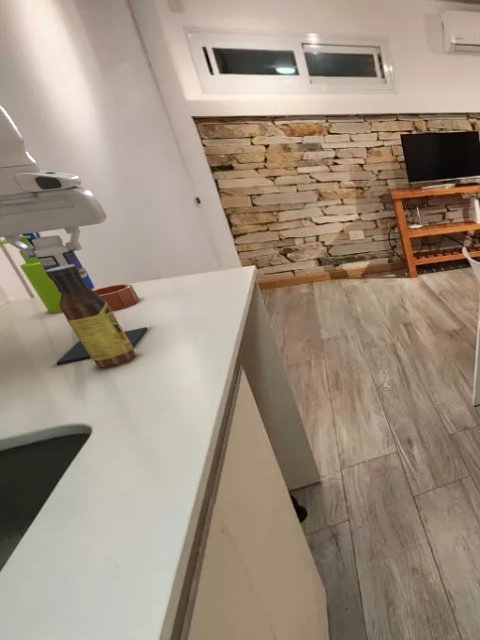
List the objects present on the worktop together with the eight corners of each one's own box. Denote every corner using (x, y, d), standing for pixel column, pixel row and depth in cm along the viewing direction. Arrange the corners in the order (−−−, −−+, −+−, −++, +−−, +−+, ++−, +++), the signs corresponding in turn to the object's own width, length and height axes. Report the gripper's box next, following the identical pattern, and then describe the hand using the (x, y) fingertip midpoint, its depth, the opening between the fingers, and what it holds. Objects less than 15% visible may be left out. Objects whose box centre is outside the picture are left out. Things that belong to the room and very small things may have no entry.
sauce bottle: (142, 357, 97) (89, 264, 88) (103, 371, 92) (43, 274, 83) (130, 351, 100) (78, 260, 91) (91, 365, 95) (32, 270, 86)
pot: (85, 316, 122) (75, 300, 120) (99, 304, 130) (90, 289, 128) (132, 307, 126) (124, 291, 124) (143, 296, 134) (135, 281, 132)
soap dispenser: (39, 314, 126) (-9, 240, 117) (70, 304, 132) (27, 233, 123) (54, 315, 124) (7, 240, 116) (85, 305, 130) (42, 233, 122)
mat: (57, 365, 96) (55, 362, 96) (80, 343, 106) (78, 340, 106) (132, 348, 101) (131, 346, 101) (147, 329, 111) (146, 326, 110)
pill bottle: (83, 274, 102) (59, 233, 98) (91, 276, 100) (67, 235, 96) (49, 282, 98) (23, 240, 94) (57, 285, 96) (30, 242, 92)
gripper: (-76, 193, 84) (-25, 268, 90) (76, 177, 92) (113, 246, 98) (-55, 189, 89) (-8, 260, 95) (88, 174, 97) (123, 240, 103)
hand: (55, 253), depth 97 cm, fingers closed on pill bottle, 5 cm apart
